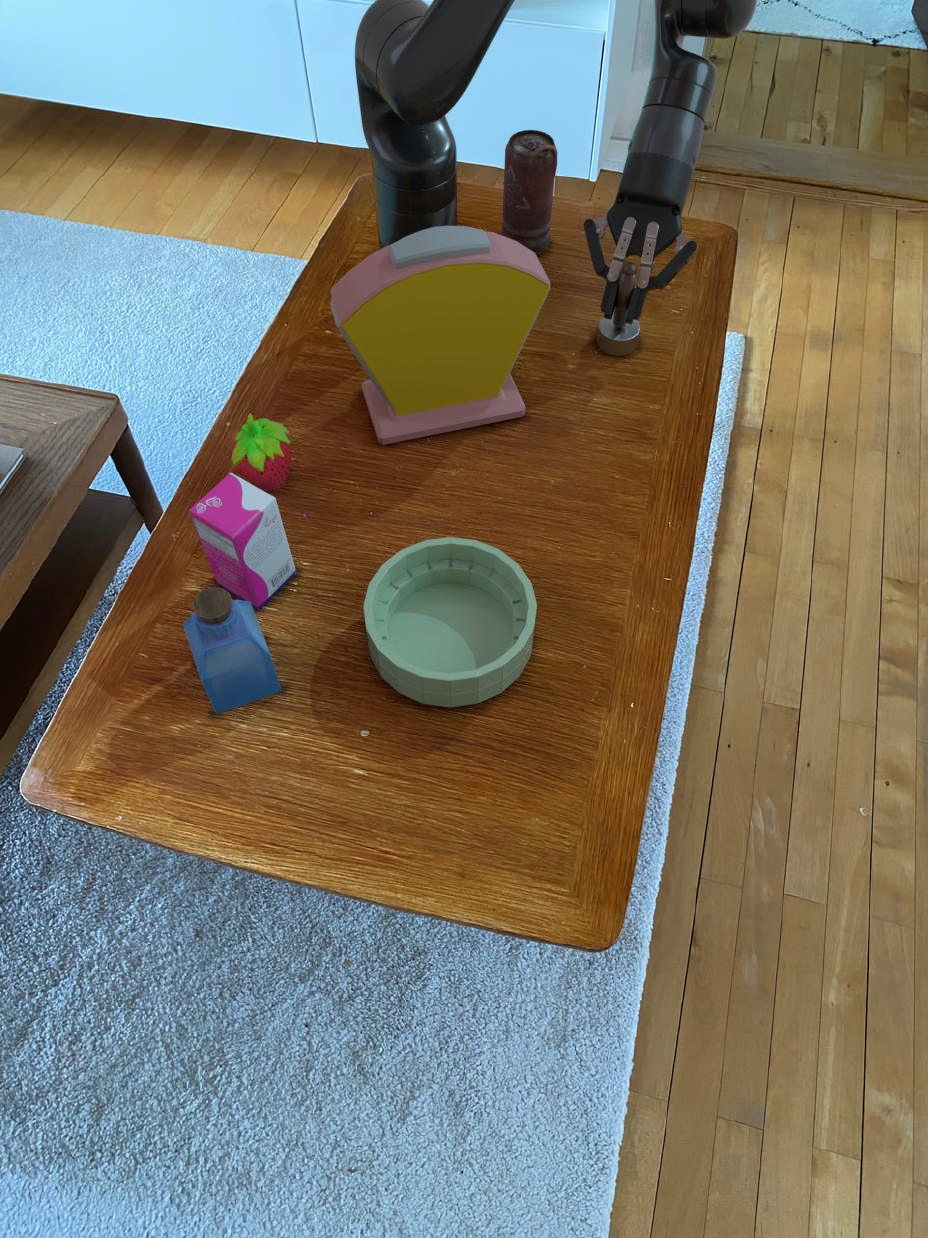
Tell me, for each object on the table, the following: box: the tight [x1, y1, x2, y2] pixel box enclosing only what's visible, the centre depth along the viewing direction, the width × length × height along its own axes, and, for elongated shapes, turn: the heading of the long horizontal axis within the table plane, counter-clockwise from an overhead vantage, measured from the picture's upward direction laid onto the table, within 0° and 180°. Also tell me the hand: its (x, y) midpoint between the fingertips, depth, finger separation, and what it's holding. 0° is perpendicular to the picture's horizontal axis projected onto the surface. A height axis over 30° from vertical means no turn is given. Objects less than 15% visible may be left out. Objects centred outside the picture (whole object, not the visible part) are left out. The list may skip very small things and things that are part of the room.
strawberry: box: [230, 413, 292, 492], centre depth 99 cm, size 6×7×10 cm
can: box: [501, 129, 559, 257], centre depth 120 cm, size 6×6×14 cm
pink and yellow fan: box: [329, 225, 551, 445], centre depth 101 cm, size 22×9×22 cm, turn 106°
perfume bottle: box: [182, 586, 282, 716], centre depth 85 cm, size 6×6×12 cm
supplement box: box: [188, 472, 297, 611], centre depth 92 cm, size 6×6×12 cm
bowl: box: [362, 536, 538, 708], centre depth 90 cm, size 16×16×6 cm
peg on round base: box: [596, 261, 641, 357], centre depth 111 cm, size 5×5×11 cm
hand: (617, 319), depth 111 cm, fingers closed on peg on round base, 2 cm apart
